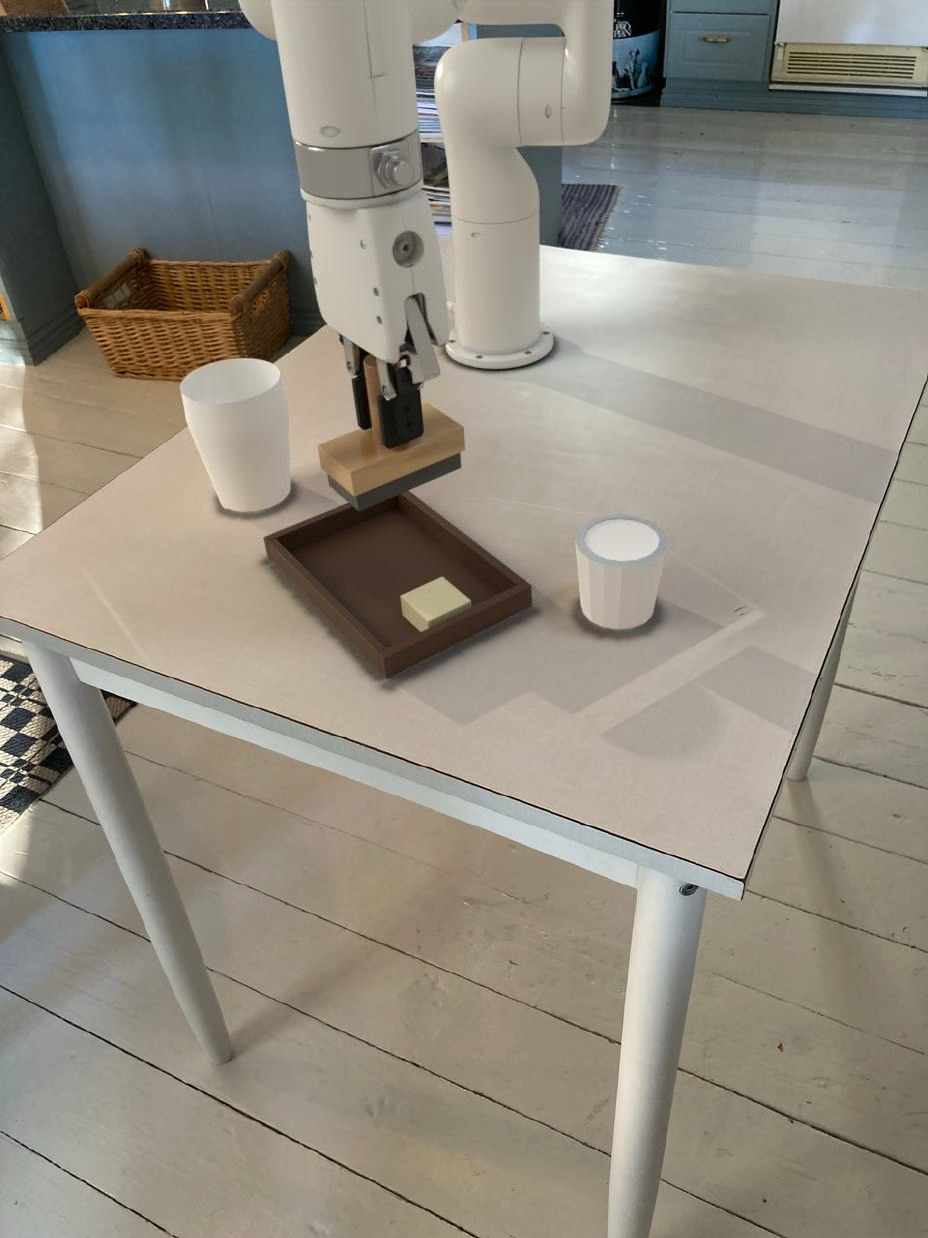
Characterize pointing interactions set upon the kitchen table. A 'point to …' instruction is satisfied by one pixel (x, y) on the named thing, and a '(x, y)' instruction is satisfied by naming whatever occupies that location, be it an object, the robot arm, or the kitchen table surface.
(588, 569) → the white tapered tub
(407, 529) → the tray
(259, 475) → the cup
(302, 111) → the robot arm
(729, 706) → the kitchen table surface
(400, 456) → the brush
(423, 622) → the sponge chip
